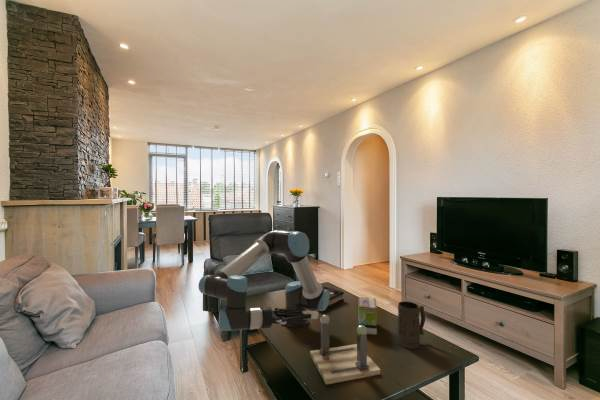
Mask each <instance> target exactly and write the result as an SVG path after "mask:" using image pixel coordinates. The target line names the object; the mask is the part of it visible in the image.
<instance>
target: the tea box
mask: <svg viewBox="0 0 600 400" xmlns="http://www.w3.org/2000/svg"><path fill="white" fill-rule="evenodd" d="M357 304H358V309H357V314H358V315H357V319H358V320H357V327H358V326H359V325H364V326H365V327H366V328H367V334H366V335H378V305H377V298H375V297H374V298H373V297H360V296H359V297H358V303H357Z"/></svg>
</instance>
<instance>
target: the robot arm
mask: <svg viewBox="0 0 600 400" xmlns="http://www.w3.org/2000/svg"><path fill="white" fill-rule="evenodd" d="M309 251H310V239H309V237H308V236H307V234H306V233H305V232H302V231H297V230H281V229H274V230H272V231H268V232H266V233H264V234H263V235H261V236H259V237H258V238H257V239H255V240H254V241H253V244H252V245H251V246H249V247H248V248H246V250H244V251H243V252H241V253H240V254H239V255H238V256H236V257H235V258H233V259H232V260H231V261H230V262H229V263H227V264H226V265H224V266H223V267H222V268H221V269H219V270H218V271H217V272H215V273H214V274H206V275H203V276H202V277H201V278H200V280H199V281H198V286H197V287H198V290H199V292H200V293H201V294H203V295H206V296H209V297H212V298H217V299H221V300H223V301H225V306H224V308H223V309H222V308H221V309H220V310H219V312H218V329H219V330H220V331H221V332H222V331H225V332H226V331H227V332H229V331H230V332H232V331H242V330H243V331H244V330H251V331H252V330H257V329H260V328H261V329H270V328H271V327H272V326H273V325H272V324H276V325H278V324H279V325H280V324H281V327H284V328H285V327H289V328H296V329H297V328H301V327H305V326H307V325H308V323H309V320H319V319H318V318H319V312H323V311H325V309H326V308H327V306H328V303H329V298H330V293H329V291H328V290H326V289H323V287H324V286H323V285H322V284H321V283H320V282H319V281H317V277H316V275H315V273H314V271H313V268H312V265H311V264H310V261H309V258H308V253H309ZM271 254H279V255H284V257H285V259H286V261H287V262H288V263H290V264H291V265H292V267H293V270H294V271H295V274H296V276H297V279H298V280H296V281H295V280H294V281H291V282H288V283H286V285H285V290H284V291H285V292H284V293H285V294H284V295H285V308H280V307H274V310H272V307H270V306H265V307H264V306H262V307H261V308H260V307H258V306H257V307H246V306H247V295H248V294H247V293H248V278H247V276H244V275H243V274H245V272H247V271H248V270H249V269H251V267H253V266H254V265H255V264H256V263H258V262H259V261H260V260H261V259H262V258H266V257H268V256H269V255H271ZM322 286H323V287H322ZM307 309H311V310H307ZM326 310H327V309H326Z"/></svg>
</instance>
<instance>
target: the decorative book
mask: <svg viewBox="0 0 600 400" xmlns="http://www.w3.org/2000/svg"><path fill="white" fill-rule="evenodd" d="M322 287H323V289H326V290H328V291H329V293H330V298H329V303H328V306H327V308H326V309H325V310H327V309H329V308H331V307H335V306H336V305H338V304H340V303H342V302H344V301H345V299H344V298H343V297H344V294H345V292H344V291H341V290H338V289H335V288H331V287H328V286H323V285H322ZM325 310H324V311H325Z"/></svg>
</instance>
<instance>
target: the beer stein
mask: <svg viewBox="0 0 600 400" xmlns="http://www.w3.org/2000/svg"><path fill="white" fill-rule="evenodd" d="M397 313H398V314H397V330H396V331H397V340H396V342H397V344H398V345H399V346H401V347H402V348H406V349H410V350H415V349H418V348H420V347H421V342H420V339H421V336H424V334H425V333H424V325H425V324H426V313H425V306H424V305H418V303H415V302H413V301H412V302H411V301H400V302H398V304H397Z"/></svg>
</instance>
